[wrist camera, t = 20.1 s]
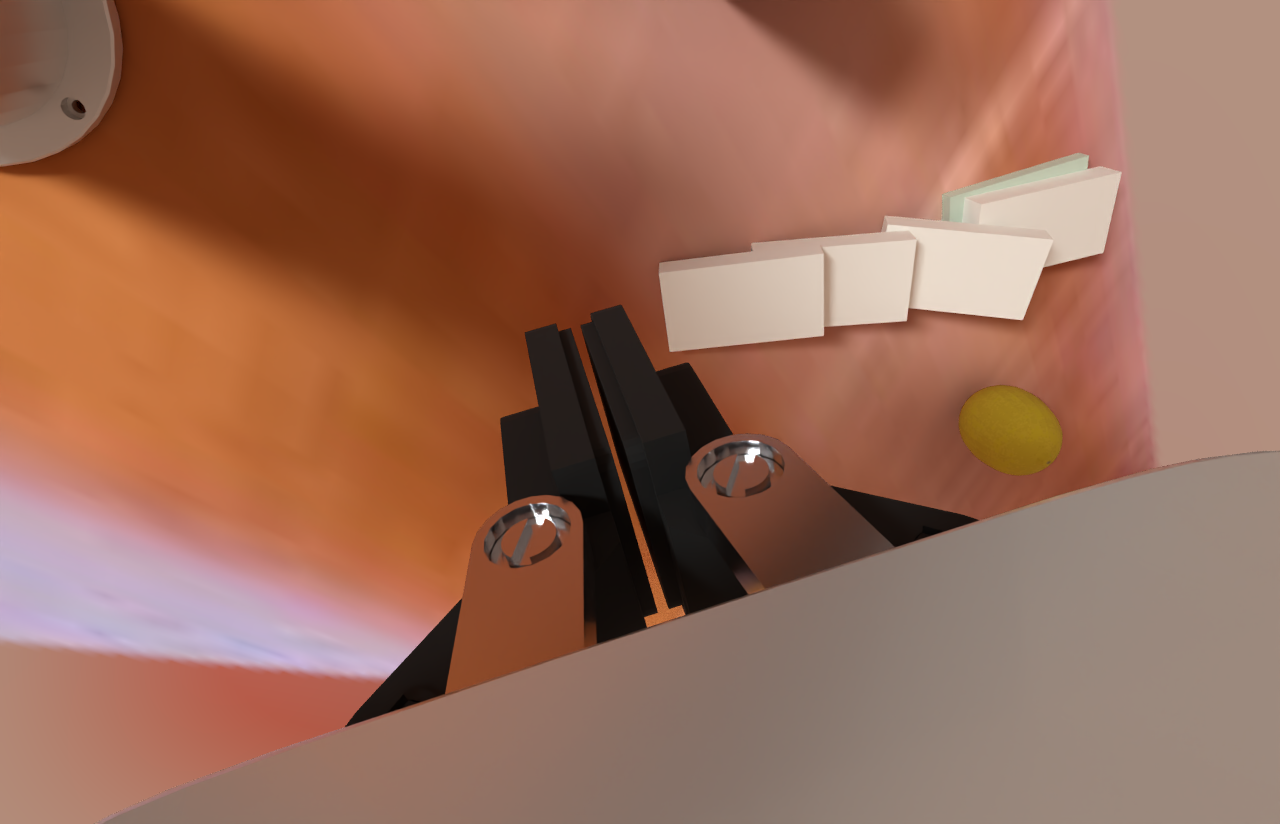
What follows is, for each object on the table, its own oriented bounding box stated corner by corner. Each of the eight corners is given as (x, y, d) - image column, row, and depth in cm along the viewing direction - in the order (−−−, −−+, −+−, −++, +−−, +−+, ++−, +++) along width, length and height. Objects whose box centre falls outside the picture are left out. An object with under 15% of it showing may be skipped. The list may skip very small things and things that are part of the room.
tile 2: (754, 331, 42) (906, 320, 41) (753, 252, 39) (916, 239, 38) (751, 320, 43) (899, 309, 43) (750, 243, 41) (908, 230, 40)
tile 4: (971, 284, 43) (1103, 252, 43) (981, 204, 40) (1121, 172, 41) (956, 275, 44) (1084, 244, 45) (964, 197, 41) (1100, 166, 42)
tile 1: (669, 352, 41) (823, 335, 40) (658, 273, 39) (823, 253, 37) (670, 339, 43) (819, 323, 41) (659, 262, 40) (818, 243, 39)
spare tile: (947, 274, 44) (1077, 234, 44) (950, 197, 41) (1088, 155, 42) (933, 266, 45) (1059, 227, 46) (935, 190, 42) (1069, 150, 43)
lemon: (924, 426, 51) (993, 492, 44) (961, 360, 49) (1041, 419, 42) (981, 436, 53) (1056, 500, 46) (1020, 373, 50) (1105, 431, 44)
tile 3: (868, 303, 43) (1022, 320, 41) (887, 224, 40) (1053, 239, 39) (866, 293, 44) (1015, 308, 43) (884, 215, 41) (1045, 230, 40)
